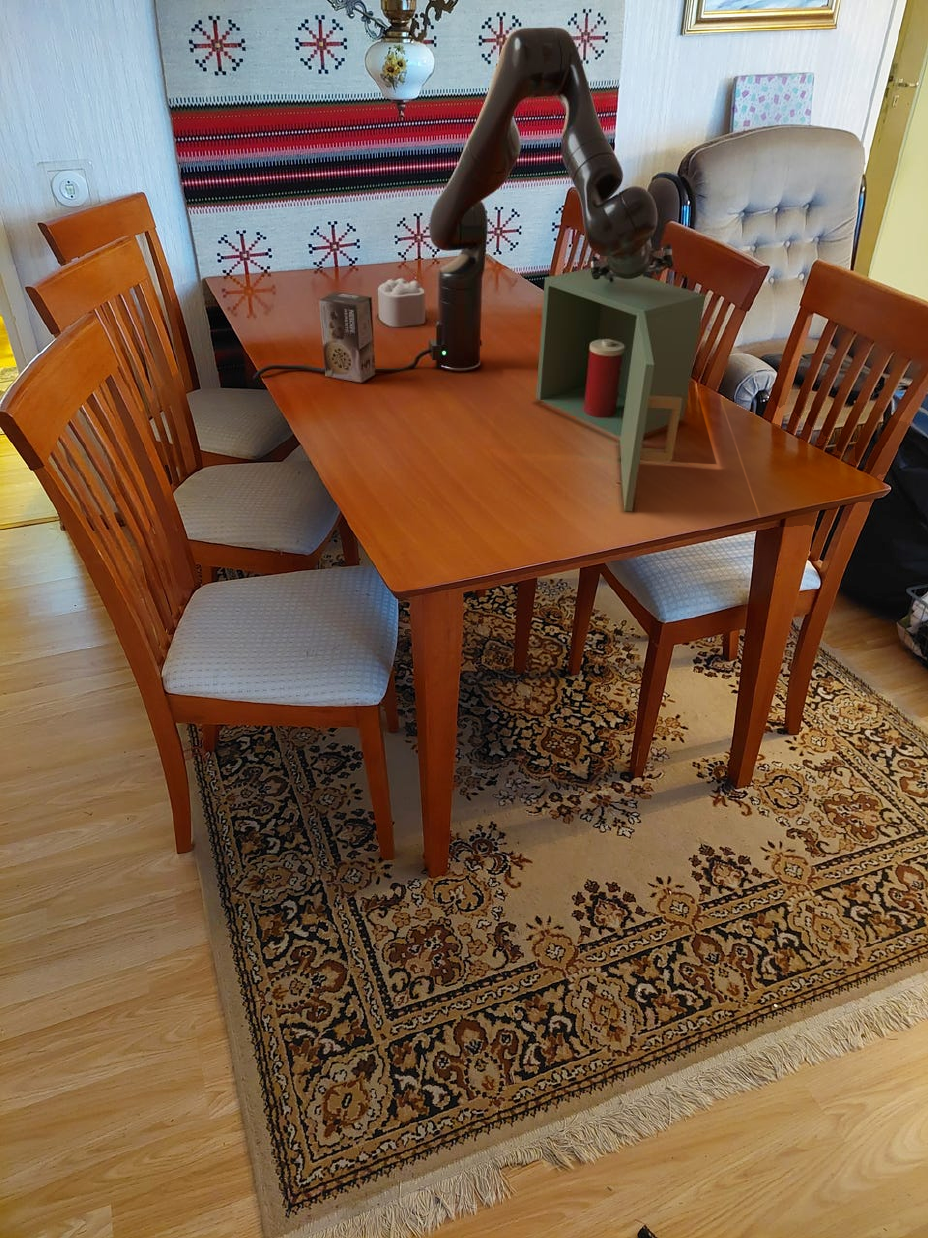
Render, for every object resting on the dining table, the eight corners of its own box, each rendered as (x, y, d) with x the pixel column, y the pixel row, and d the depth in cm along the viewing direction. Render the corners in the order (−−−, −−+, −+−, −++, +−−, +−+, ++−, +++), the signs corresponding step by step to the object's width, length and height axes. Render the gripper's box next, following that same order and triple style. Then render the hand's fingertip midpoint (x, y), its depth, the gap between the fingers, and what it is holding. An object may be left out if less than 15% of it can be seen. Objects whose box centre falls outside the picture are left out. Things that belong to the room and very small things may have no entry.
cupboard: (625, 445, 161) (644, 310, 147) (535, 403, 176) (544, 277, 162) (682, 424, 170) (705, 294, 155) (591, 385, 185) (605, 264, 170)
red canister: (582, 416, 169) (590, 345, 161) (582, 403, 174) (590, 333, 166) (616, 418, 168) (625, 347, 160) (615, 405, 173) (624, 335, 165)
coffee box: (376, 373, 188) (373, 296, 178) (361, 384, 183) (357, 304, 173) (339, 366, 191) (334, 290, 181) (323, 376, 186) (317, 298, 176)
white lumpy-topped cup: (389, 328, 212) (388, 291, 207) (371, 312, 222) (370, 276, 216) (429, 323, 216) (429, 286, 210) (410, 308, 225) (409, 272, 220)
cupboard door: (654, 448, 160) (676, 314, 146) (664, 513, 141) (690, 366, 126) (619, 446, 161) (637, 312, 147) (624, 511, 141) (645, 364, 127)
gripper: (671, 217, 142) (673, 243, 157) (582, 233, 145) (593, 256, 161) (674, 266, 143) (675, 287, 158) (586, 280, 146) (596, 299, 162)
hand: (634, 271), depth 160 cm, fingers open, 7 cm apart
